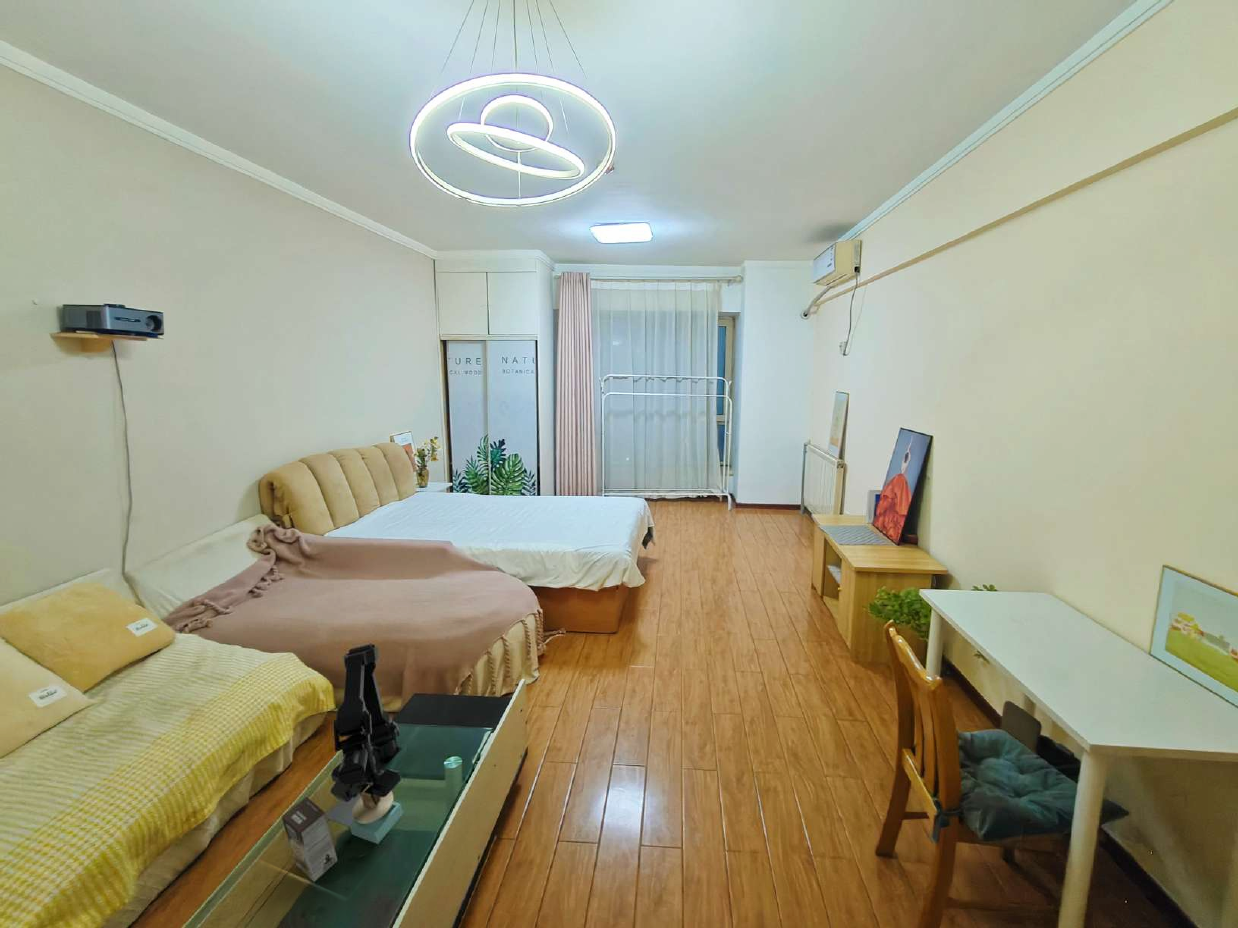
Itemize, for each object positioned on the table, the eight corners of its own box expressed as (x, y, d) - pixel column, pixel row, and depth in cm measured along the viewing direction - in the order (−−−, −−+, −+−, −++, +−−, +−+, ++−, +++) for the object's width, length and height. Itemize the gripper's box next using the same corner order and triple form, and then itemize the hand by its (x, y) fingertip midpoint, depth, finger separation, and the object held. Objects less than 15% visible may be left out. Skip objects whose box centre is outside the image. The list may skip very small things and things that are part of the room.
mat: (359, 783, 154) (358, 781, 153) (384, 791, 150) (384, 789, 150) (324, 818, 143) (323, 816, 143) (350, 828, 139) (349, 826, 139)
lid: (344, 817, 135) (339, 801, 134) (374, 786, 144) (370, 770, 143) (372, 828, 131) (368, 811, 130) (401, 795, 140) (397, 779, 139)
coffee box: (295, 866, 130) (279, 815, 126) (320, 844, 135) (306, 795, 131) (314, 884, 125) (298, 832, 121) (339, 861, 130) (325, 810, 126)
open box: (378, 806, 145) (376, 795, 144) (403, 815, 142) (400, 803, 141) (352, 835, 137) (349, 824, 136) (378, 845, 134) (374, 833, 133)
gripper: (306, 769, 130) (321, 818, 134) (361, 787, 123) (374, 838, 127) (343, 736, 140) (356, 783, 144) (396, 752, 133) (407, 800, 137)
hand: (372, 801), depth 137 cm, fingers closed on lid, 3 cm apart
